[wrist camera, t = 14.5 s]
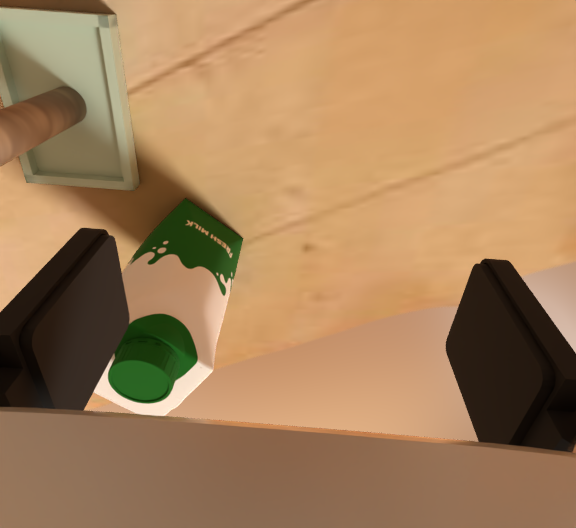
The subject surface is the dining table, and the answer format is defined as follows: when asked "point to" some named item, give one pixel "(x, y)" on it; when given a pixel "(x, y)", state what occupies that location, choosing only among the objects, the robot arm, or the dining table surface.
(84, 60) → the tray
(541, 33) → the dining table surface
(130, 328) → the milk carton
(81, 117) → the pin
